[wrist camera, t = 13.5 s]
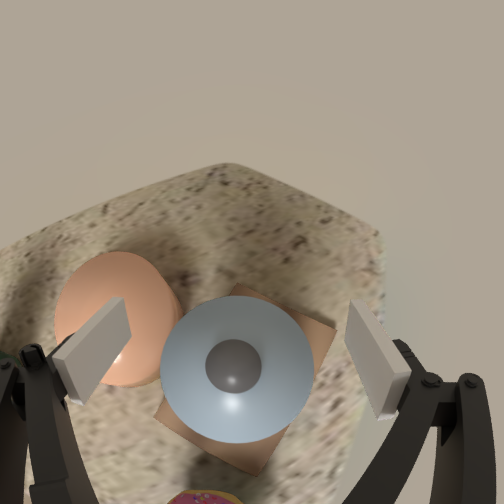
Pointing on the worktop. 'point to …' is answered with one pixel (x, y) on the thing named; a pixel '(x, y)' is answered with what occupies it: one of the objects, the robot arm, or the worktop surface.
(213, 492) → the cupcake
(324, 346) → the mat
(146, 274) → the peach round dome
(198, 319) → the blue-grey knobbed jar
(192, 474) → the worktop surface
